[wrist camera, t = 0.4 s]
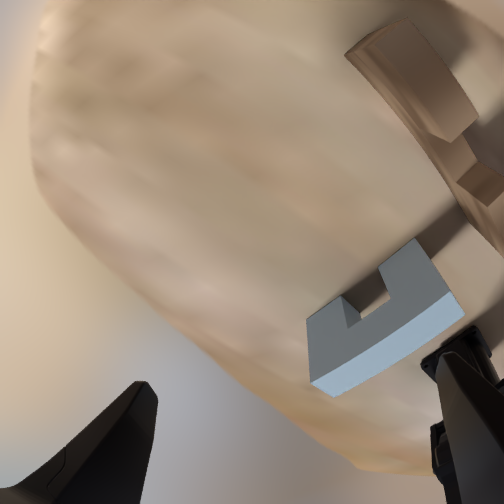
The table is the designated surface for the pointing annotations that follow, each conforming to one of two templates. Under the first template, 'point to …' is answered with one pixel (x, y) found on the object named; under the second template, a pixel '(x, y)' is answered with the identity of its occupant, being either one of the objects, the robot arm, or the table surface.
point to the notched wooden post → (434, 118)
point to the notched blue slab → (380, 324)
